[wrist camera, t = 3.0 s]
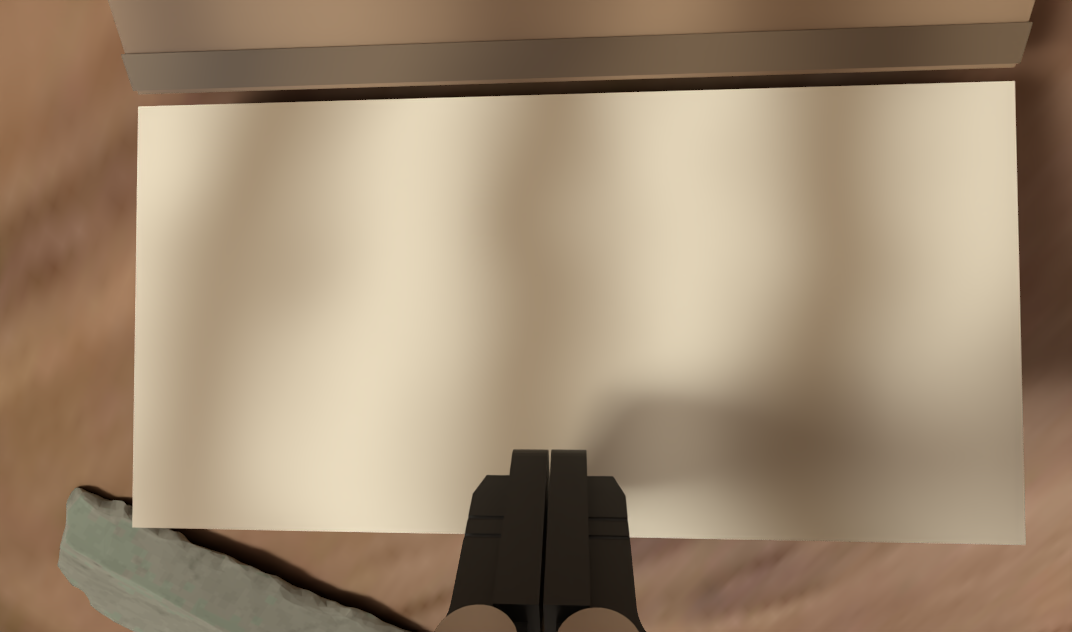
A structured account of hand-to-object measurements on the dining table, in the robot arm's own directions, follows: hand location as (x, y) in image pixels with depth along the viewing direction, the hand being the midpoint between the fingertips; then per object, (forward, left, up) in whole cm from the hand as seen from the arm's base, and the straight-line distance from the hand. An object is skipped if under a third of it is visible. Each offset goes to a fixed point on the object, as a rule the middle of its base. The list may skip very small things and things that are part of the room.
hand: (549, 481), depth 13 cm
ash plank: (0, -1, -5) cm, 5 cm away
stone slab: (+12, +17, -8) cm, 23 cm away
